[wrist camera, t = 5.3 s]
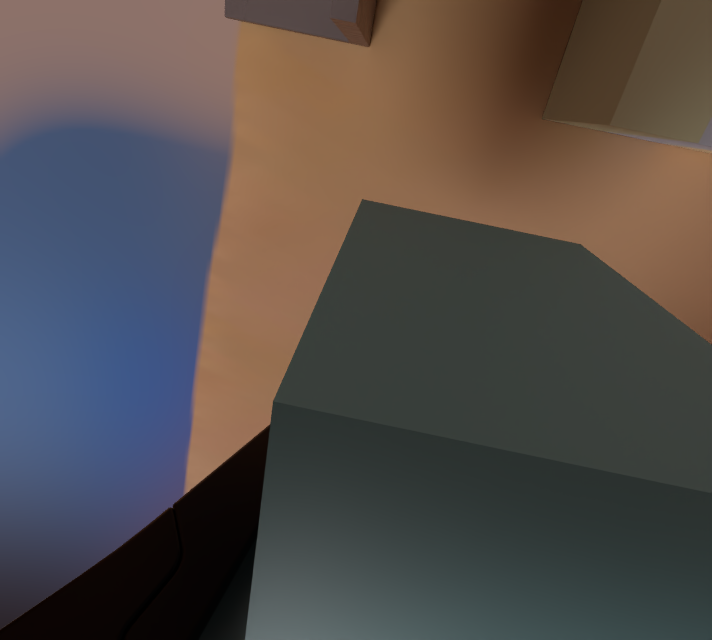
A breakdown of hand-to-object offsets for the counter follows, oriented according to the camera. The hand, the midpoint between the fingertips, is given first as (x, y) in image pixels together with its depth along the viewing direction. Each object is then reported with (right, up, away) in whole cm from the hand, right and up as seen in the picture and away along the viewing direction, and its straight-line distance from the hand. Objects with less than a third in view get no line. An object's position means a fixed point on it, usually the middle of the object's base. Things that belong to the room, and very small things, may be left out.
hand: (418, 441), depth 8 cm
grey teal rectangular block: (0, +1, +1) cm, 1 cm away
